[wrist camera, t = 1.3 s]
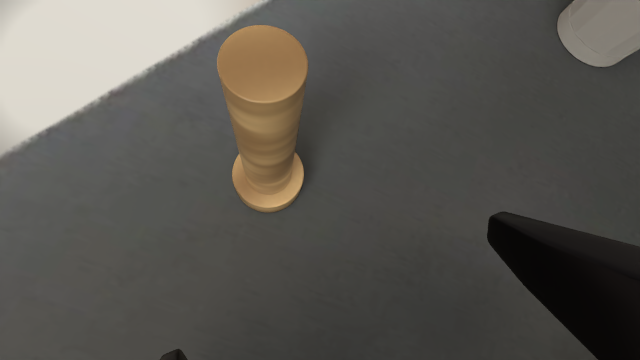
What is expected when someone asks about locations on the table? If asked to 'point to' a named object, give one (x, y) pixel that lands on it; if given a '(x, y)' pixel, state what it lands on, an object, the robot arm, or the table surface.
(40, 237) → the table surface
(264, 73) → the tan wooden tall piece
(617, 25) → the cup
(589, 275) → the robot arm
